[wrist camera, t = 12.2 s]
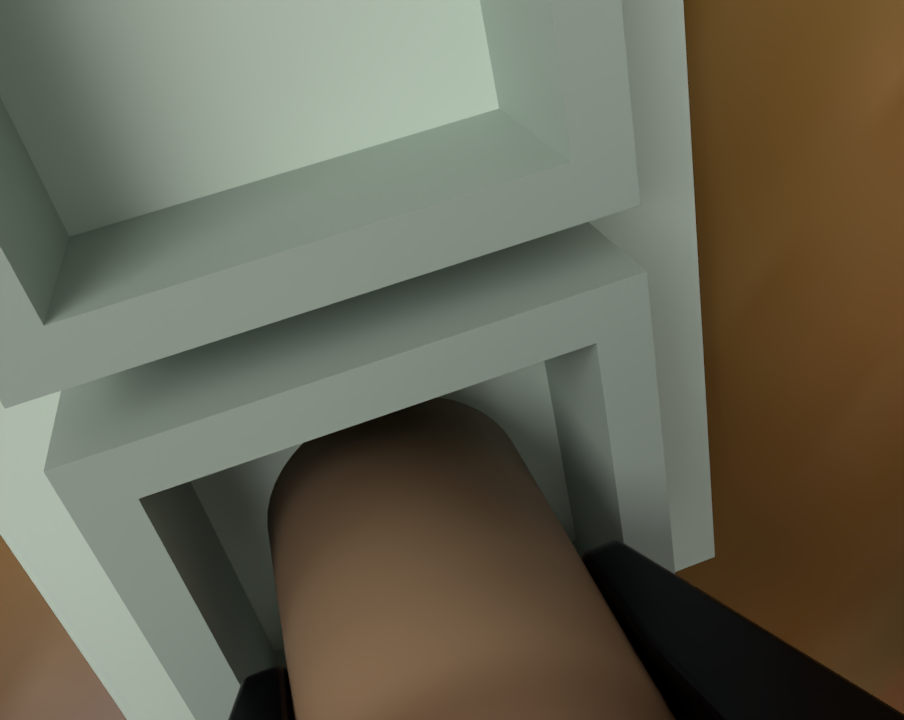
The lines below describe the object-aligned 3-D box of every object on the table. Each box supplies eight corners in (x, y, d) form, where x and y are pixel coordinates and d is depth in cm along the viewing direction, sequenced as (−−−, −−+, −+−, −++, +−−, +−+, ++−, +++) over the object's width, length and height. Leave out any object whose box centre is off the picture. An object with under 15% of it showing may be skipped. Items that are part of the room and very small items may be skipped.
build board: (677, 509, 15) (790, 653, 12) (161, 701, 14) (158, 906, 11) (572, -705, 7) (808, -1048, 4) (-603, -500, 6) (-1218, -791, 3)
